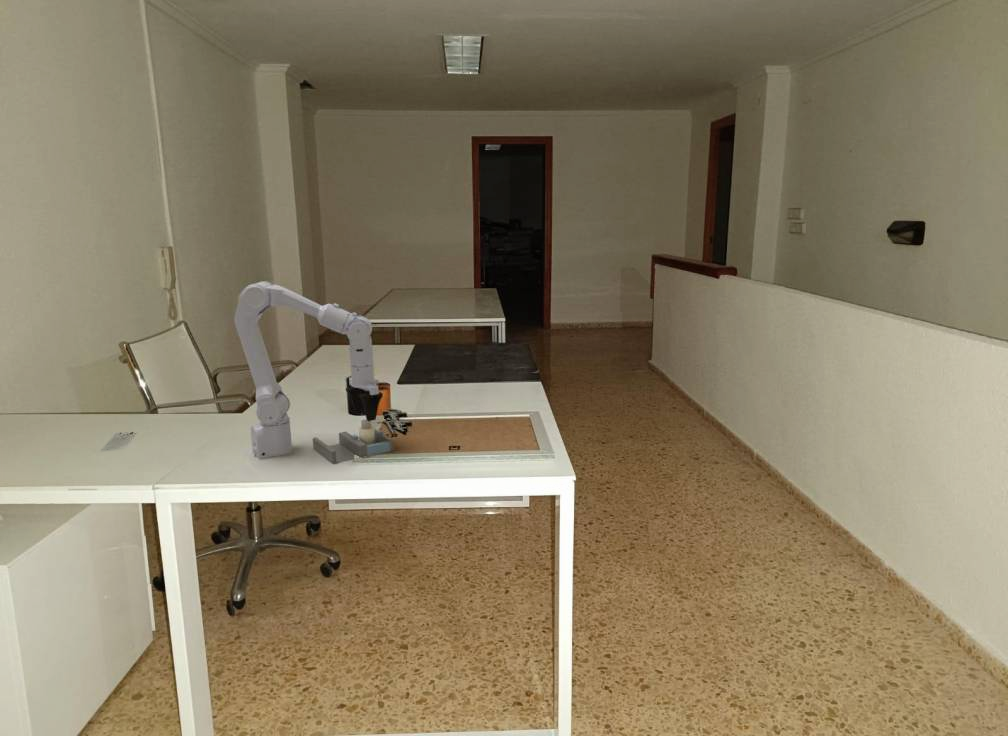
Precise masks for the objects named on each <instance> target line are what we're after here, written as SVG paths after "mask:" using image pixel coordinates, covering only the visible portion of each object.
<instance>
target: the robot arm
mask: <svg viewBox="0 0 1008 736" xmlns="http://www.w3.org/2000/svg"><path fill="white" fill-rule="evenodd" d="M237 298H238V299H237V300H238V303H237V306H236V310H235V314H234V319H233V321H234V325H235V327H236V332H237V334H238V337H239V341H240V343H241V346H242V350H243V353H244V355H245V359H246V362H247V365H248V368H249V371H250V374H251V377H252V380H253V383H254V386H255V401H256V411H255V412H256V416H257V419H258V421H259V423H258V424H255V425H251V427H250V437H251V446H252V447H251V448H252V454H253V455H254V456H255V457H256V458H257V459H258V460H262V459H266V458H271V457H272V458H273V457H281V456H284V455H288V454H290V453H292V452H293V443H292V442H293V441H292V431H291V421H290V420H291V419H290V417H289V415H288V413H287V412H288V411H289V410H290V406H291V403H290V399H289V397H288V396H287V395H286V394H285V392H284V390H283V389H282V386H281V385H280V384H279V383H278V382H277V378H276V376H275V373H274V369H273V366H272V363H271V360H270V356H269V354H268V351H267V348H266V345H265V341H264V338H263V336H262V332H261V329H260V326H259V321H260V319H261V317H262V316H263V314H264V313H265V311H266V310H267V309H268V308H276V307H282V306H286V307H288V308H291V309H294V310H296V311H299V312H302V313H304V314H306V315H309V316H311V317H314V318H316V319H317V321H318V324H319V325H321V326H323V327H324V328H328V329H329V330H332V331H334V332H336V333H338V334H341V335H346V336H347V337H346V338H348V340H349V350H348V351H349V363H350V376H351V377H348V383H349V386H350V387H345V391H346V393H347V394H348V396H349V398H350V401H351V404H352V407H353V411H354V414H355V415H362V414H364V415H365V417H366V419H367V421H371V422H372V421H376V419H377V414H378V410H379V409H378V408H379V405H380V402H381V400H382V398H383V395H384V394H383V392H380V391H379V386H378V385H377V384H379V383H380V380H379V379H376V378H375V367H374V366H375V365H374V350H373V348H374V347H373V345H372V343H373V340H372V336H371V334H372V332H373V325H372V322H371V320H369V319H368V318H367V317H365V315H357V312H354V311H353V312H352V313H351V312H350V311H347V310H345V309H343V308H340V304H338V303H333V304H332V303H327V304H324V305H321V304H319V303H318V302H315V301H313V300H311V299H309V298H307V297H304V296H302V295H301V294H299V293H296V292H294V291H292V290H291V289H288V288H286V287H284V286H282V285H279V284H274V283H271V282H269V281H266V280H263V281H258V282H256V283H251V284H249V285H247V286H246V287H245V288H244V289H243V290H242V291H241V293H240V294H239V296H238V297H237ZM366 419H365V420H366Z"/></svg>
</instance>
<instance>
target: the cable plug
mask: <svg viewBox="0 0 1008 736" xmlns="http://www.w3.org/2000/svg"><path fill="white" fill-rule="evenodd" d="M360 422H361V424H360V425H361V426H360V427H359V428H358V437H359V440H360V441H362V442H363V443H365V444H366V445H371V444H375V430H374V429H375V426H372V421H367V419H362V420H360Z"/></svg>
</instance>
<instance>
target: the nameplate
mask: <svg viewBox="0 0 1008 736" xmlns="http://www.w3.org/2000/svg"><path fill="white" fill-rule="evenodd" d="M389 409H390V410H389V411H384V412H383V415H382V416H383V419H384V420H385V421H378V422H376V424H383V425H385V426H386V428H387V429H388V431H389V433H390V434H391V435H395V434H396V432H398V433H400V434H402V435H404V436H406V433H408V429H409V428H408V427H412V426H413V422H412V421H406V420H405V421H404V420H400V418H407V417H408V416H407V415H408V413H407V412H406V411H402V410H400V409H396V408H389ZM395 431H396V432H395Z"/></svg>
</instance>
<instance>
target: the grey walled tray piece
mask: <svg viewBox="0 0 1008 736" xmlns="http://www.w3.org/2000/svg"><path fill="white" fill-rule="evenodd" d="M374 430H375V444H371V445H366V444H365V443H363V442H362V441H360V440H359V435H358V434H351V433H349V432H348V431H342V432H338V440H339V443H337V444H332V445H328V444H327V443H325V442H323V440H321V439H319V438H318V437H312V446H313V448H312V449H313V450H314V451H315V452H317V454H319V455H320V456H322V457H323V459H325V460H327V461H328V462H329V463H331V464H332V465H335V464H338V463H344V462H348V461H353V460H355V459H354V455H357V456H359V457H363V458H365V457H364V456H367V457H371V456H370V455H372V456H376V455H380V454H385V453H390V452H393V451H394V439H393V438H391V437H390V436H388V435H386V434H384V431H383V430H381V429H376V428H374Z"/></svg>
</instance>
